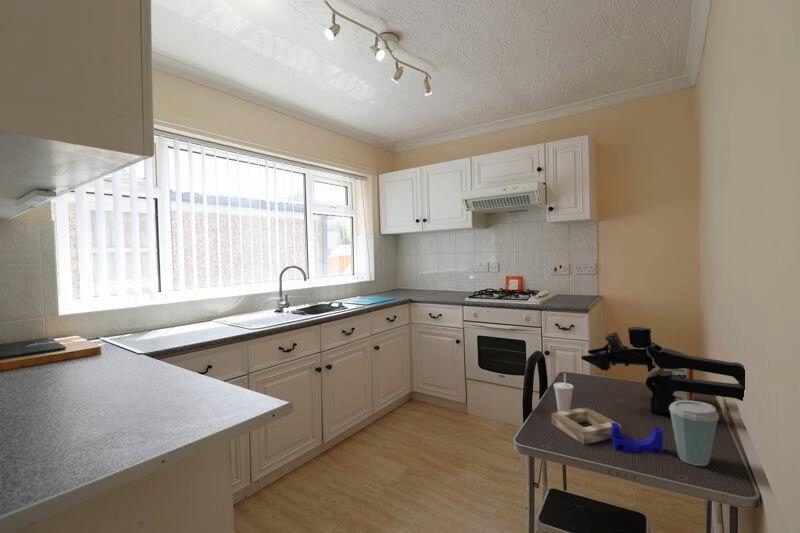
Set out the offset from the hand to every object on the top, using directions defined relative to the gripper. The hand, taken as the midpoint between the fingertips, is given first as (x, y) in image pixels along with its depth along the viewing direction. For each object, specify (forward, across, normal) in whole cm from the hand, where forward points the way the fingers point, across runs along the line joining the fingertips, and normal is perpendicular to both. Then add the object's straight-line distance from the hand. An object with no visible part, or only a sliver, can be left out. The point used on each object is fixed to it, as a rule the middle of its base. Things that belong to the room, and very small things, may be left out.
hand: (584, 354), depth 145 cm
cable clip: (-20, +32, +19) cm, 42 cm away
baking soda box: (-25, -14, +20) cm, 35 cm away
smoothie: (+4, +20, +16) cm, 26 cm away
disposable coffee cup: (-32, +29, +20) cm, 48 cm away
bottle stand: (-5, +29, +17) cm, 34 cm away
